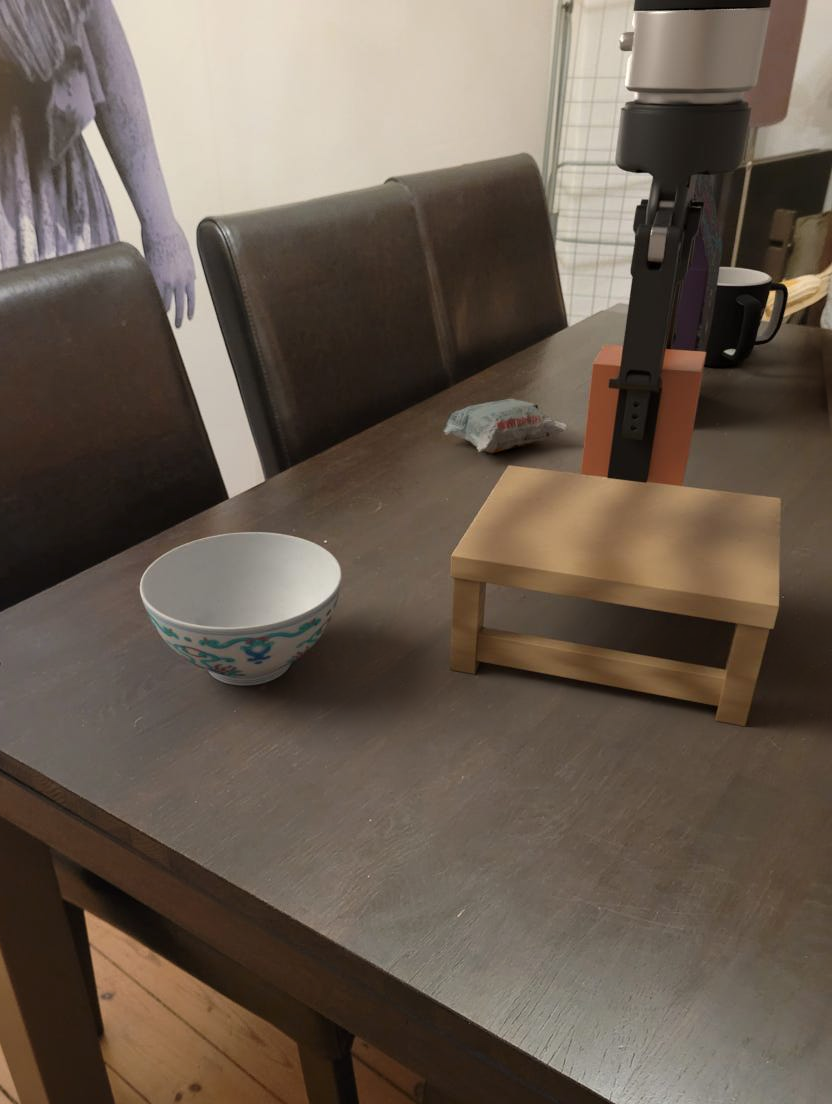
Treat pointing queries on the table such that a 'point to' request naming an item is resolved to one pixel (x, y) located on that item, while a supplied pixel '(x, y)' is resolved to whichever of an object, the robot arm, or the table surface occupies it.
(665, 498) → the wooden footstool
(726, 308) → the mug
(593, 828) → the table surface
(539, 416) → the packaged food
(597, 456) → the small box
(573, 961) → the table surface
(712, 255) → the purple coffee bag
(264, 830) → the table surface
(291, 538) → the chinaware
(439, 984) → the table surface
